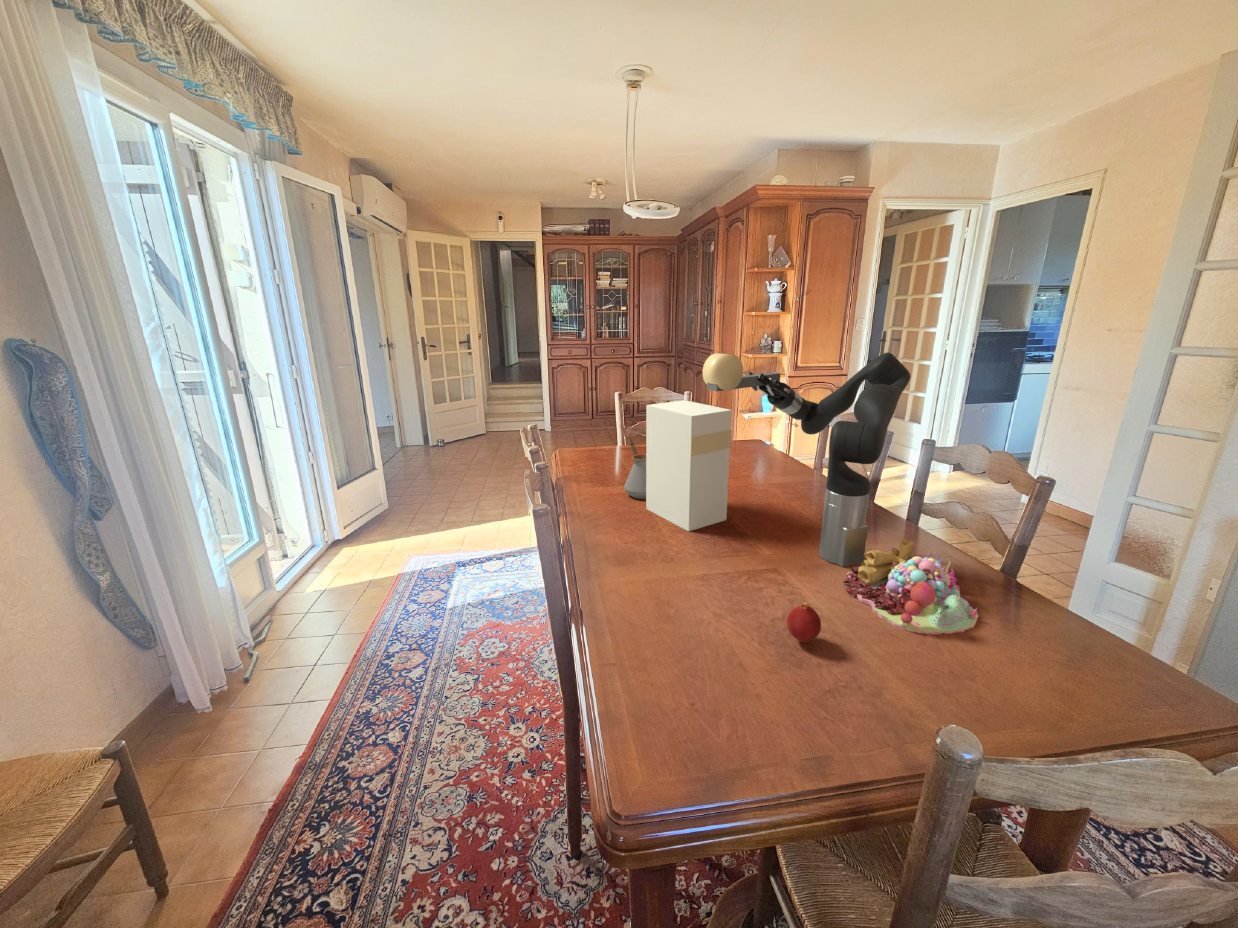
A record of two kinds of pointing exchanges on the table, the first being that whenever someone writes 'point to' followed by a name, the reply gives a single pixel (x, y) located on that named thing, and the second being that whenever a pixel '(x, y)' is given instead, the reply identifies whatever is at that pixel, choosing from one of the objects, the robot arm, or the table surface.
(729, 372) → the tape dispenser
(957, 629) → the candy landscape model
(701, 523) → the tall box
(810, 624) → the onion
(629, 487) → the coffee pot
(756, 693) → the table surface
